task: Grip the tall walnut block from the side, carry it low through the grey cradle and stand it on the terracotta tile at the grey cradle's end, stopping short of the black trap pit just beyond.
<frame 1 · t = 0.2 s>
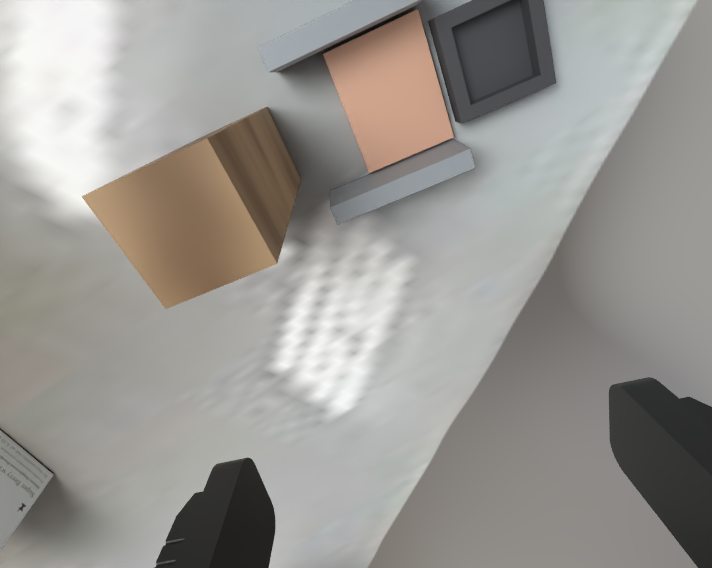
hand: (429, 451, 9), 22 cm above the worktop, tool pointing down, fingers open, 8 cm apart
walnut block: (251, 159, 27), on the worktop
grey cradle: (368, 107, 26), on the worktop
trap pit: (488, 53, 25), on the worktop
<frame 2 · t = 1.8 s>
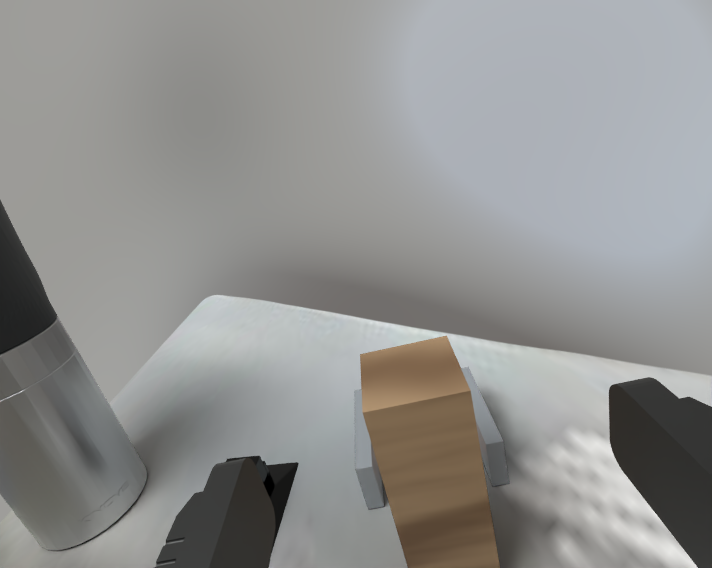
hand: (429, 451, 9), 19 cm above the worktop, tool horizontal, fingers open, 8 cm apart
walnut block: (450, 550, 26), on the worktop
grey cradle: (427, 450, 34), on the worktop
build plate: (255, 518, 33), on the worktop
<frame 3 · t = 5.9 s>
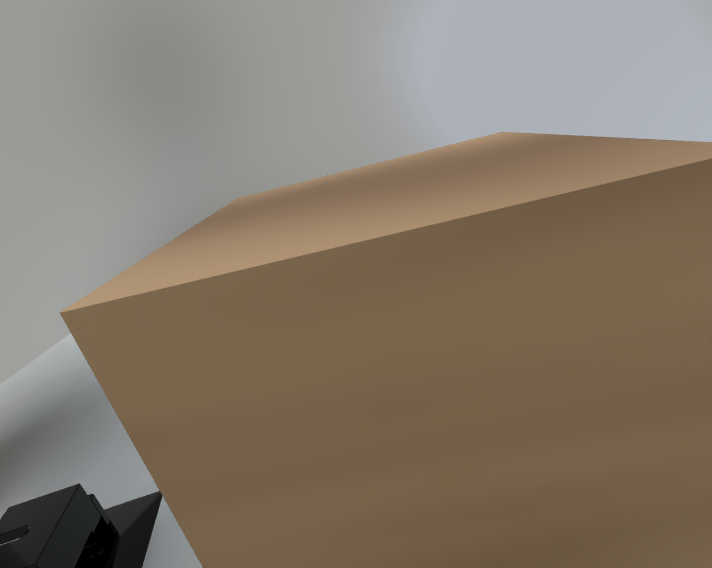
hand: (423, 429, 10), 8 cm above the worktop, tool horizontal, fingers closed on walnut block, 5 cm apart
when the fingers open (10 cm above the worktop, at t = 10.0 s): walnut block drops 2 cm, resting on grey cradle.
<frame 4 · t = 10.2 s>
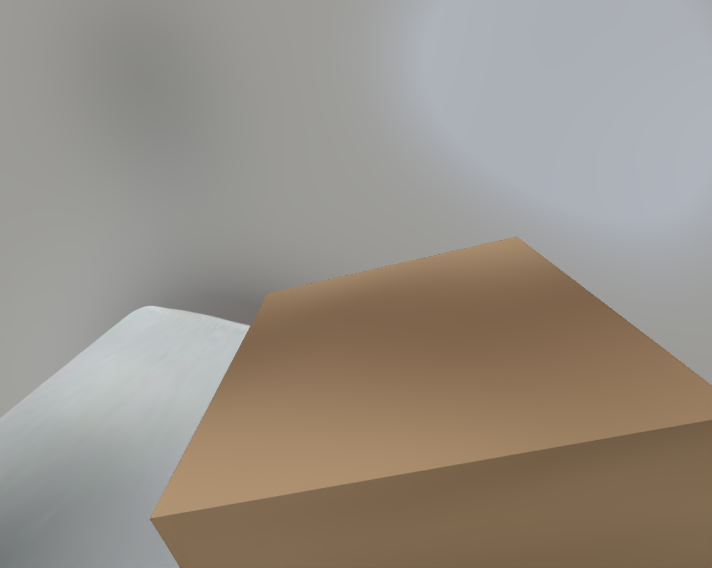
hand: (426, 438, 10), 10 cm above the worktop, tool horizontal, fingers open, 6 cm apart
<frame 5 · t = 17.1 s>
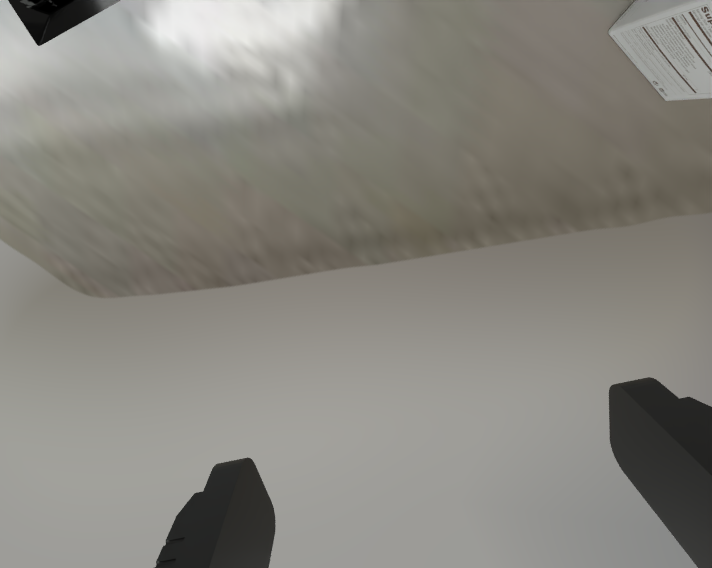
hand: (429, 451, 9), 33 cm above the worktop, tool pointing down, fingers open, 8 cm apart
supplement box: (676, 24, 35), on the worktop
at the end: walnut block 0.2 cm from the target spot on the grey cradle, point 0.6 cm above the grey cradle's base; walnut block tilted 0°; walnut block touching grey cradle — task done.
